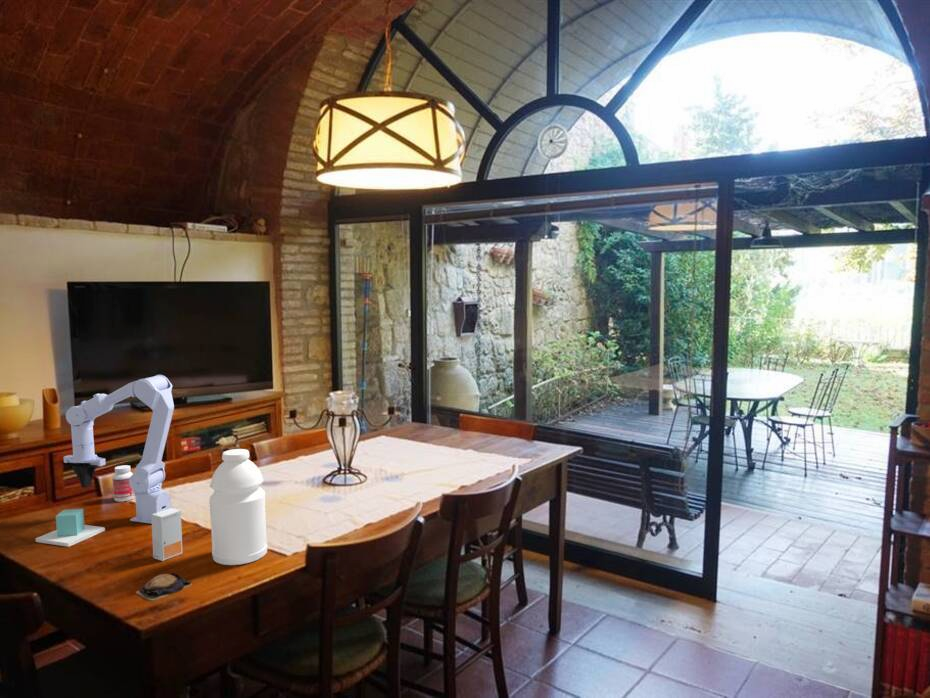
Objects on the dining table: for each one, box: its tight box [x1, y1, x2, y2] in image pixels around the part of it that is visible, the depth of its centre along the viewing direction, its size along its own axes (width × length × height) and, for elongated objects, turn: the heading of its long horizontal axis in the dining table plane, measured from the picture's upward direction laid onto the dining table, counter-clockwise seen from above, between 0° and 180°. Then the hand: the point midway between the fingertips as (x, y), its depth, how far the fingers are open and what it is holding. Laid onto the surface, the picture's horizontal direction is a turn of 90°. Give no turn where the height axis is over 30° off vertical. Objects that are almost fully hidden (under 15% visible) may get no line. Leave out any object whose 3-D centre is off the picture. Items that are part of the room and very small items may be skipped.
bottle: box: [208, 448, 268, 566], centre depth 170 cm, size 14×14×28 cm
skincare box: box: [151, 507, 183, 562], centre depth 171 cm, size 6×4×12 cm
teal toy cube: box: [55, 508, 85, 537], centre depth 185 cm, size 5×5×6 cm
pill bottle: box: [112, 464, 135, 503], centre depth 217 cm, size 6×6×11 cm
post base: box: [34, 524, 106, 548], centre depth 185 cm, size 12×12×6 cm
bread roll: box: [135, 572, 193, 602], centre depth 153 cm, size 11×8×4 cm
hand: (86, 486), depth 200 cm, fingers closed
